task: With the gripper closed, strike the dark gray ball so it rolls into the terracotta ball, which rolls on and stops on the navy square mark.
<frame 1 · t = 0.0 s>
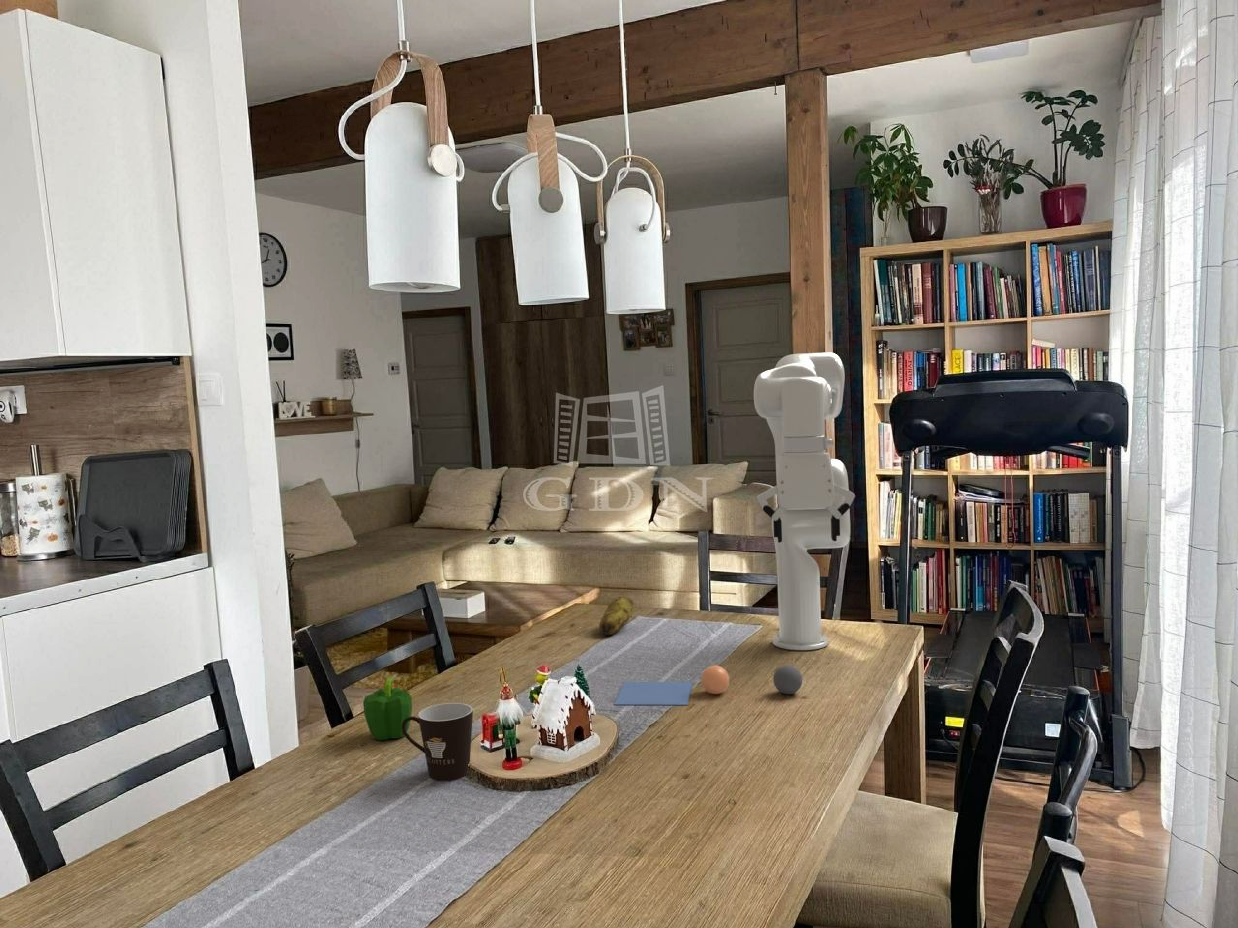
hand: (806, 540, 169), 31 cm above the table, tool pointing down, fingers open, 9 cm apart
coffee mug: (443, 771, 151), on the table
dark gray ball: (787, 679, 181), on the table
bell pepper: (390, 737, 168), on the table
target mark: (654, 693, 185), on the table
object ball: (715, 679, 183), on the table
potato: (616, 631, 235), on the table
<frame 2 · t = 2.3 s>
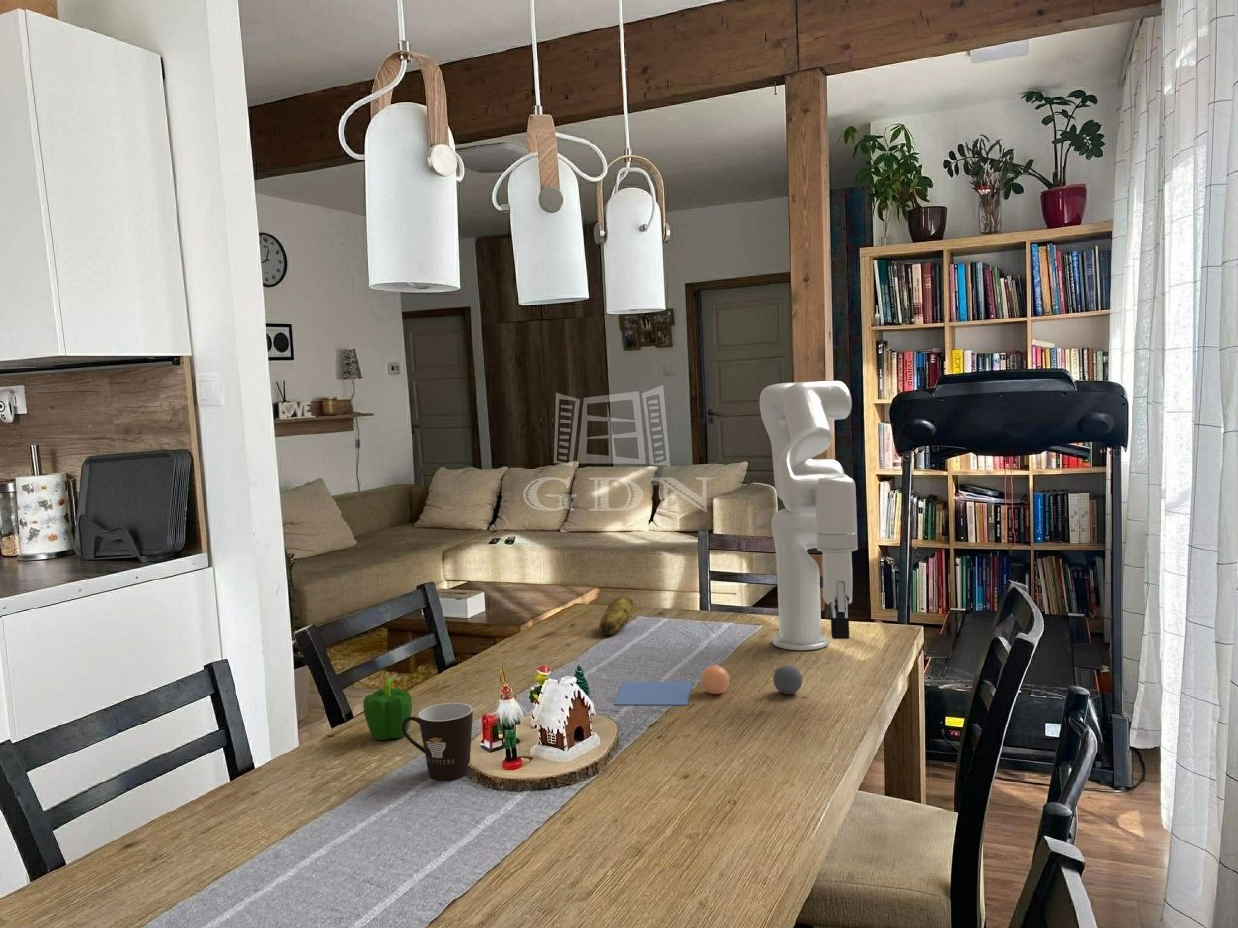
hand: (840, 637, 178), 11 cm above the table, tool pointing down, fingers closed
nothing on the table moved.
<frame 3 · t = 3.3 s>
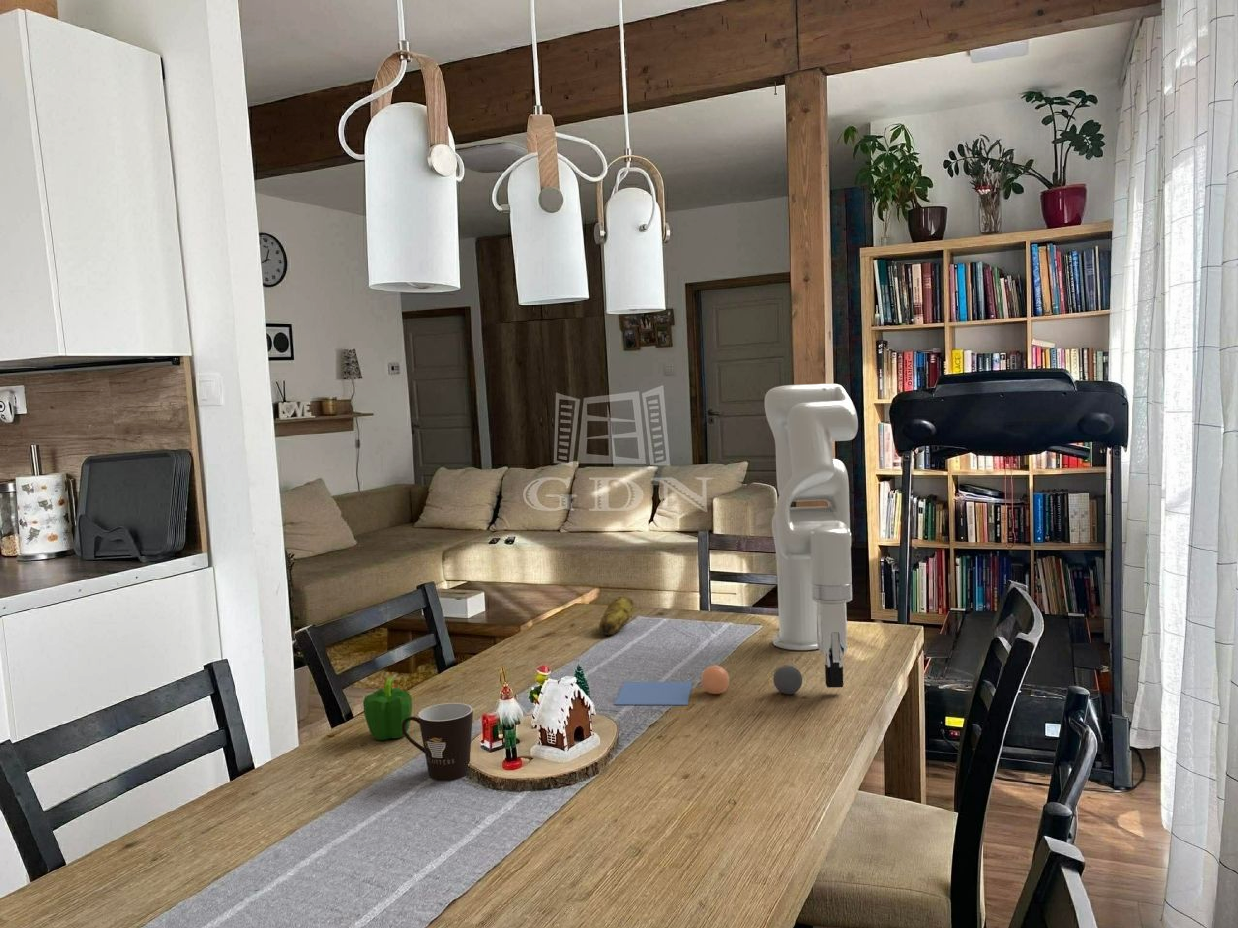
hand: (834, 685, 180), 2 cm above the table, tool pointing down, fingers closed
nothing on the table moved.
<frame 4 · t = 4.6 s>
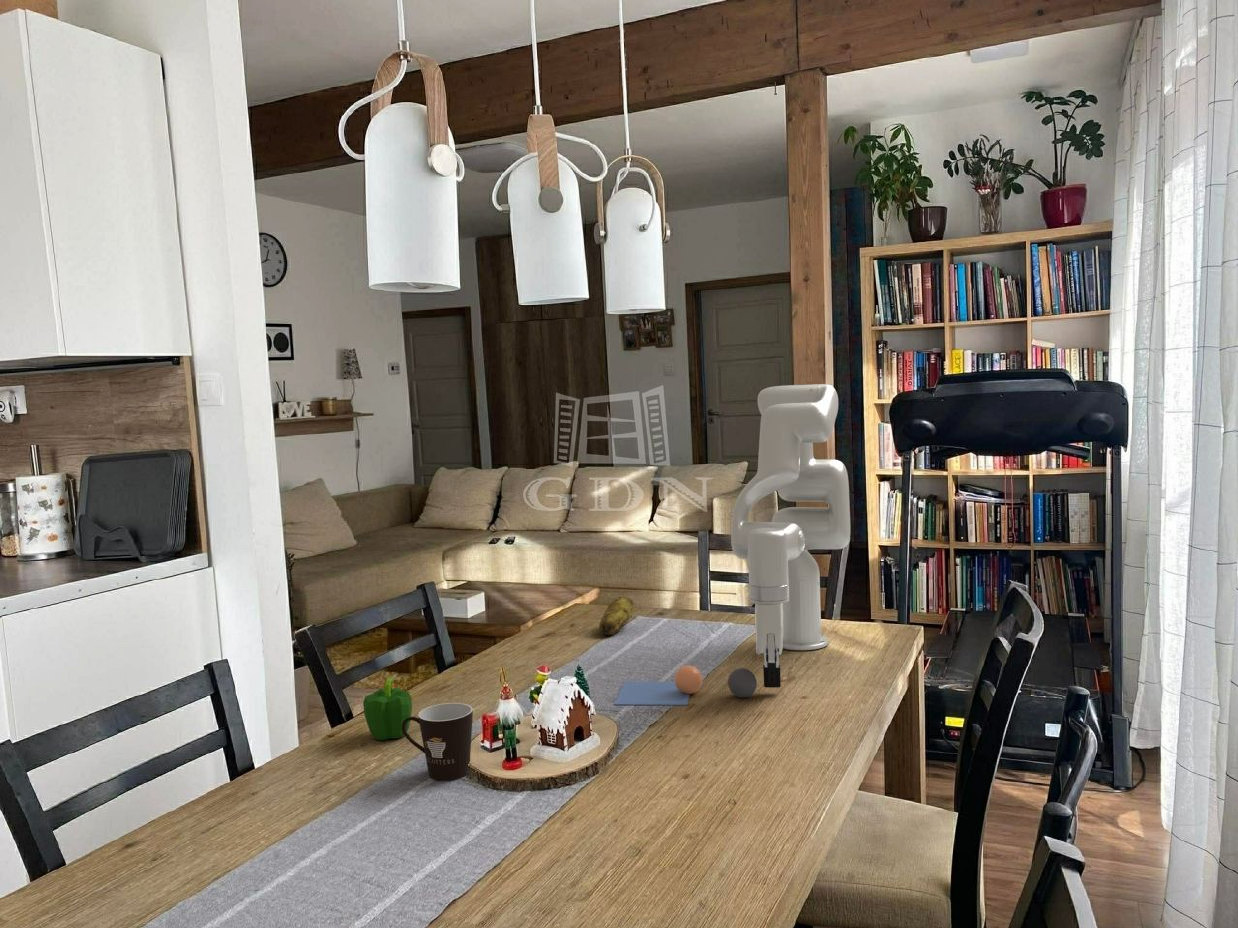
hand: (772, 685, 181), 2 cm above the table, tool pointing down, fingers closed
dark gray ball: (742, 682, 180), on the table
object ball: (688, 679, 184), on the table
everything else where it was.
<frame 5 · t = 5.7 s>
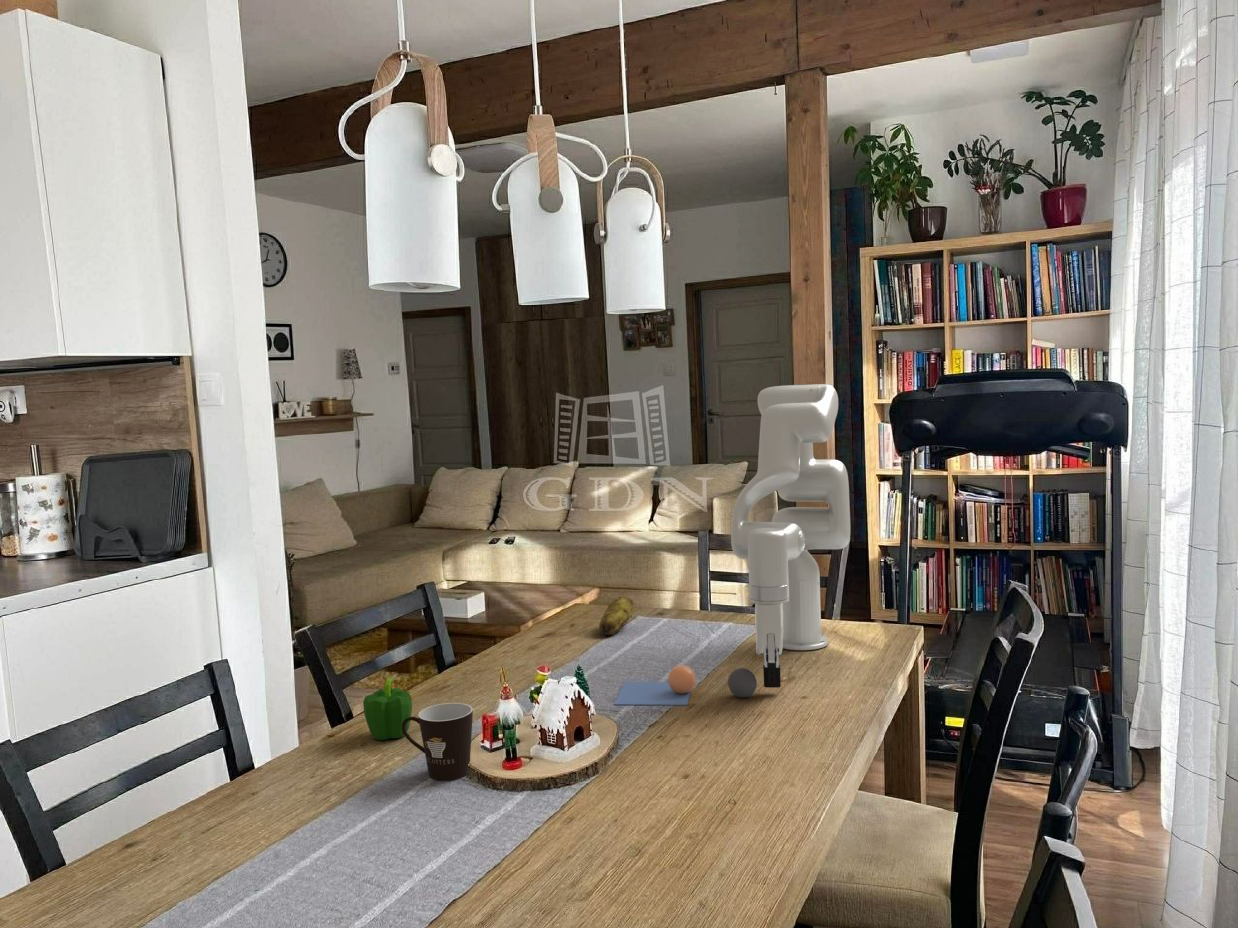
hand: (772, 685, 181), 2 cm above the table, tool pointing down, fingers closed
object ball: (681, 679, 184), on the table
everything else where it was.
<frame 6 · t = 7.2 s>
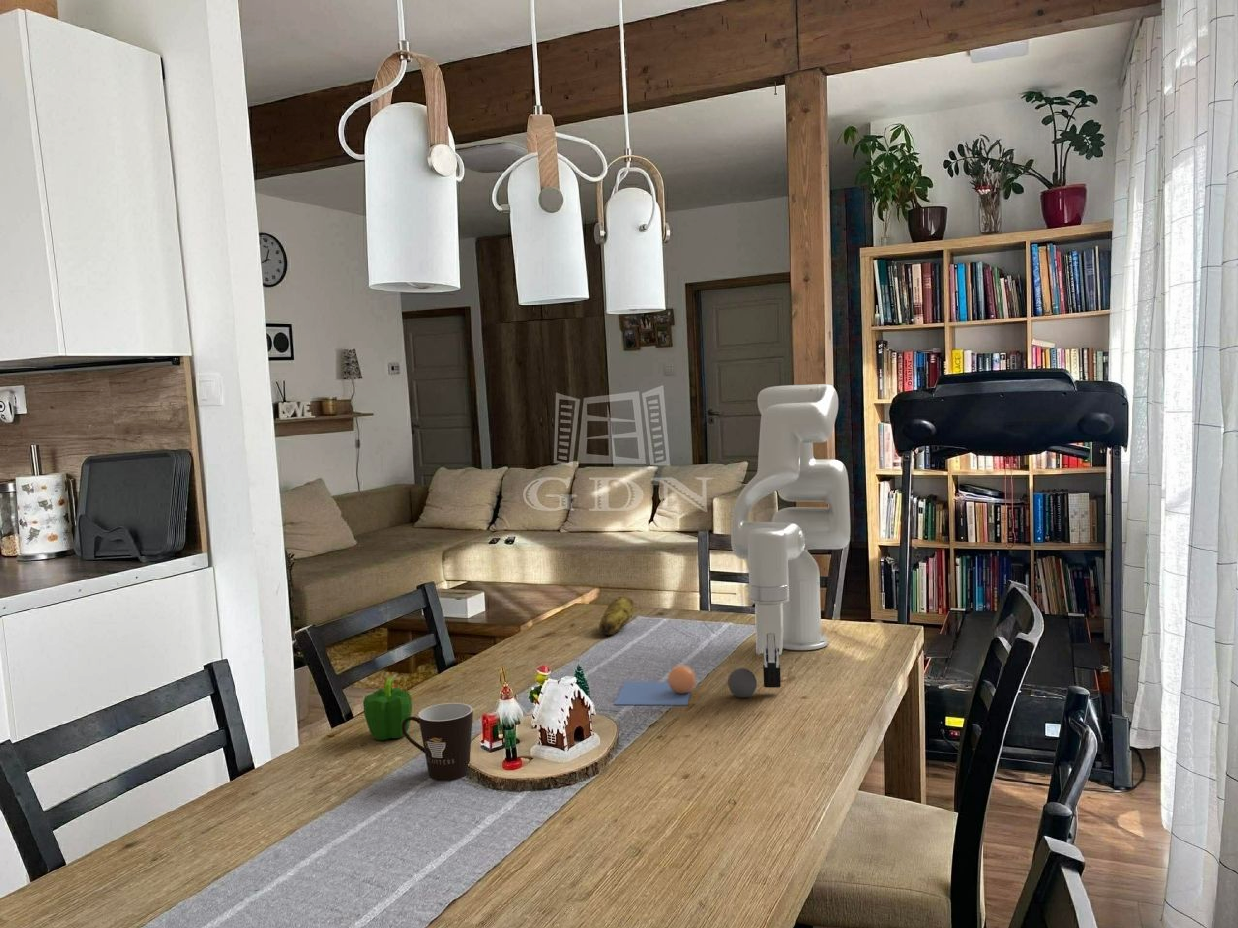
hand: (772, 685, 181), 2 cm above the table, tool pointing down, fingers closed
nothing on the table moved.
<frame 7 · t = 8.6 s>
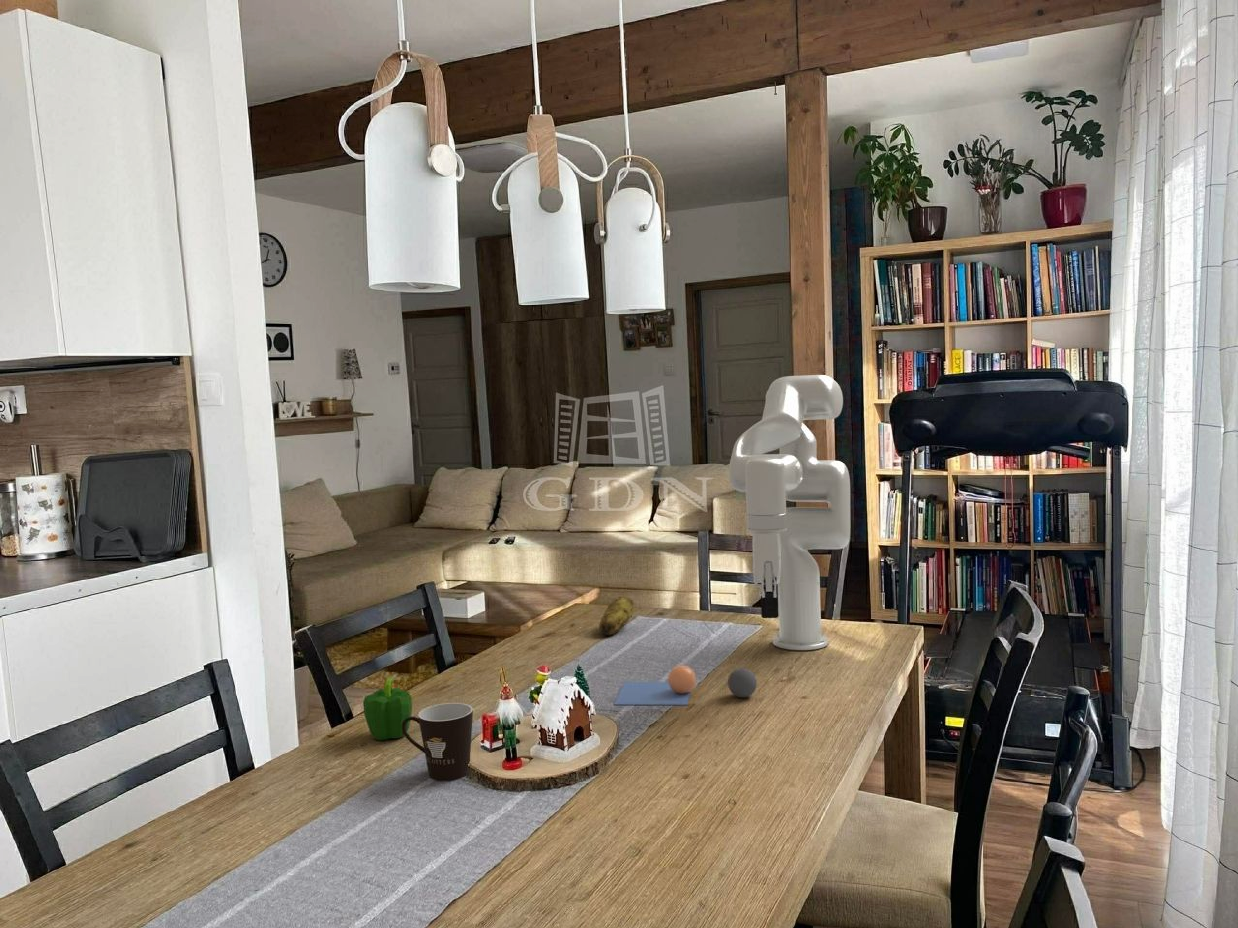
hand: (769, 616, 180), 15 cm above the table, tool pointing down, fingers closed
nothing on the table moved.
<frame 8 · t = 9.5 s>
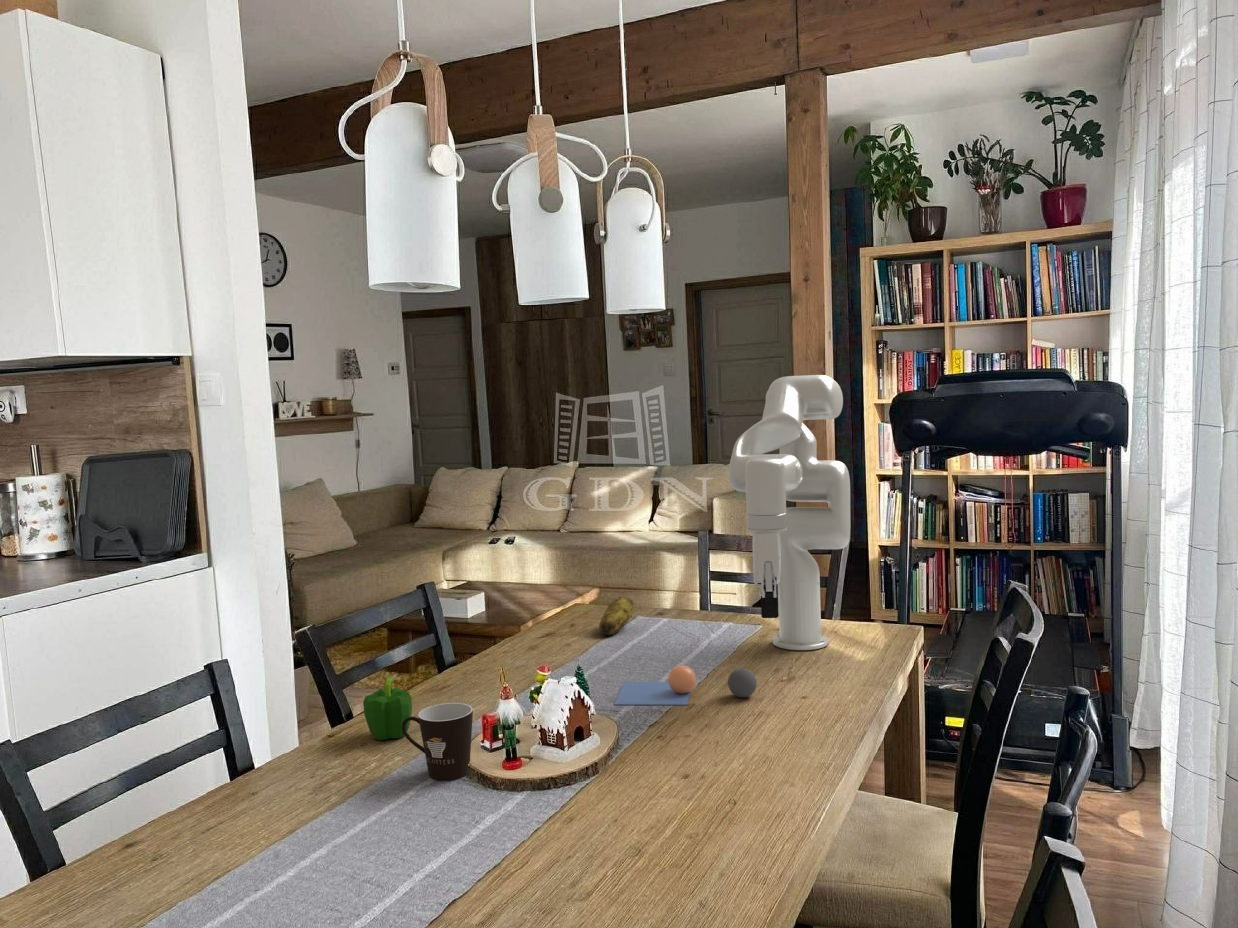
hand: (769, 616, 180), 15 cm above the table, tool pointing down, fingers closed
nothing on the table moved.
at the end: object ball 5.5 cm from the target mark (horizontally); object ball never touched the robot; dark gray ball first touched object ball at 3.9 s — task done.
